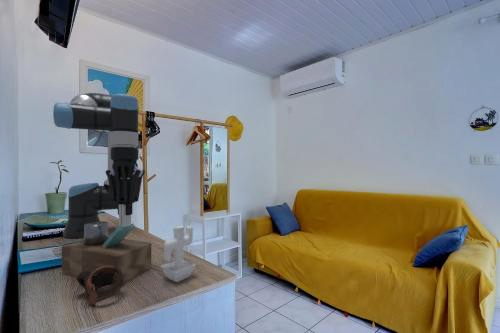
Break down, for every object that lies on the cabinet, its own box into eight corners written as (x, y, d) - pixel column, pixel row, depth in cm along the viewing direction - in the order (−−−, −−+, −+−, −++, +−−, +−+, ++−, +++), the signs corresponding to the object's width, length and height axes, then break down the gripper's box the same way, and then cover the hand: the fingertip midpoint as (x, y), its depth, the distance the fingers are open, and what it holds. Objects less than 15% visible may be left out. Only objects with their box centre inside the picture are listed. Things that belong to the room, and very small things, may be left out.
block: (100, 258, 89) (100, 235, 89) (151, 268, 82) (151, 243, 82) (61, 273, 77) (61, 246, 77) (117, 286, 69) (117, 256, 69)
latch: (120, 242, 81) (119, 240, 82) (134, 226, 79) (132, 223, 80) (104, 248, 76) (102, 245, 76) (118, 230, 74) (116, 227, 74)
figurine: (156, 279, 74) (157, 227, 73) (183, 269, 81) (184, 221, 81) (172, 287, 69) (172, 231, 69) (198, 275, 77) (199, 225, 77)
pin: (97, 259, 85) (97, 220, 85) (112, 262, 83) (112, 222, 83) (78, 267, 79) (79, 225, 79) (93, 270, 77) (94, 227, 77)
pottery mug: (131, 286, 70) (132, 266, 67) (111, 320, 62) (112, 299, 58) (87, 275, 70) (86, 254, 66) (62, 308, 61) (59, 286, 58)
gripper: (151, 147, 78) (152, 224, 78) (118, 148, 83) (118, 222, 83) (132, 145, 71) (133, 230, 71) (97, 147, 76) (97, 227, 75)
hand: (125, 225), depth 77 cm, fingers closed, pressing on latch
